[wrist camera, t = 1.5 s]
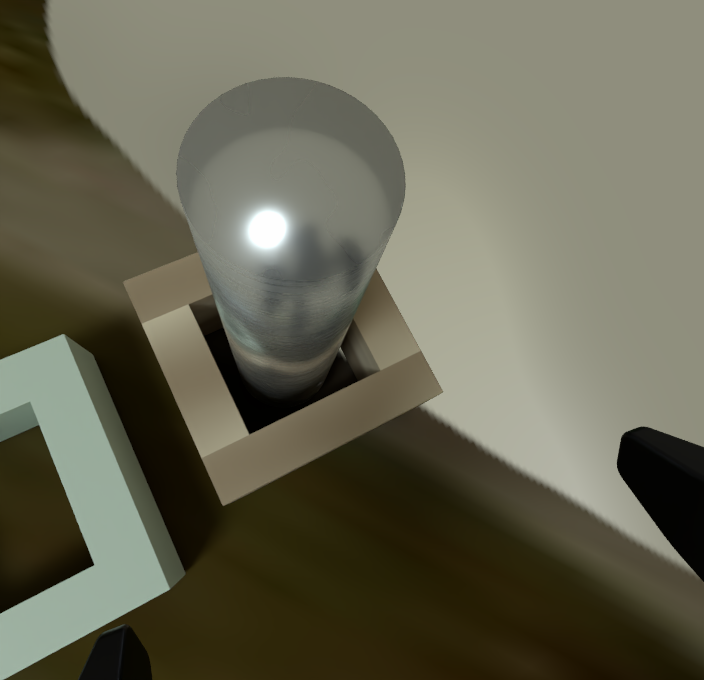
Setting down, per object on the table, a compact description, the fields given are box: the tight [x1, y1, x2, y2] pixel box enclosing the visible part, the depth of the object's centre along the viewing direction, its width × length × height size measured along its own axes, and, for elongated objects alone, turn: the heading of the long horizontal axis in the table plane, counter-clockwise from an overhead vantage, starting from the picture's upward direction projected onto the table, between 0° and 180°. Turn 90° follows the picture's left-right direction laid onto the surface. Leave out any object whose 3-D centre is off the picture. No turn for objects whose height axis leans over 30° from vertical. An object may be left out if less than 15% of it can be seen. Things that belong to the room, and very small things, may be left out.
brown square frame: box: [123, 252, 443, 506], centre depth 20 cm, size 8×8×4 cm
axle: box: [176, 77, 405, 408], centre depth 15 cm, size 4×4×14 cm
